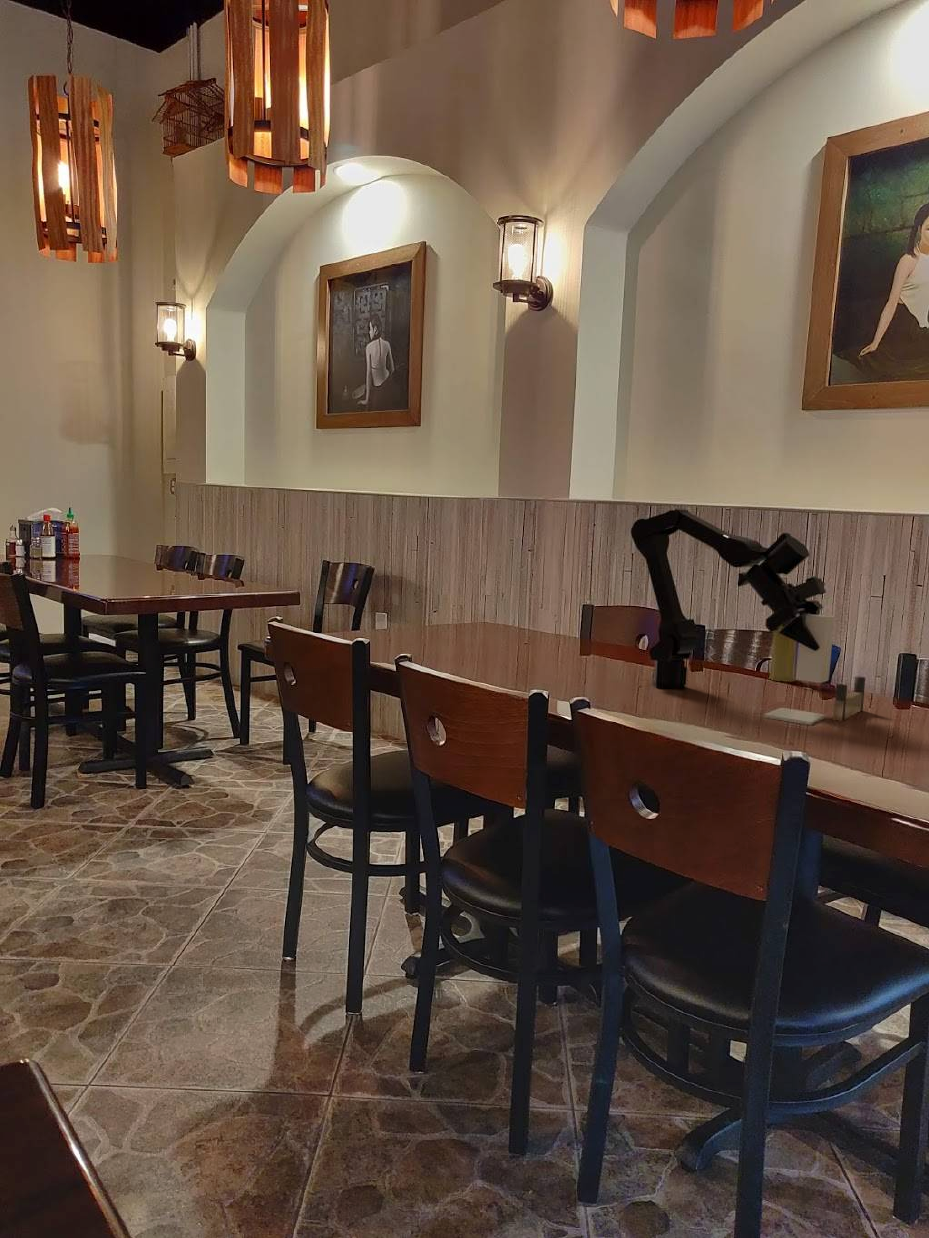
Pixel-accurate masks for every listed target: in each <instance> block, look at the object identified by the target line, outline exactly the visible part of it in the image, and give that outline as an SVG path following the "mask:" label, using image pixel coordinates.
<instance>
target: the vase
mask: <svg viewBox="0 0 929 1238" xmlns="http://www.w3.org/2000/svg"><path fill="white" fill-rule="evenodd" d="M782 625H783V624H782ZM782 625H781V626H779V627H778V631H776V632H774V633H773V638H772V639H773V641H772V651H771V661H770V662H771V663H770V672H769V677H768V679H769V680H770V679H771V681H774V680H775V682H780V681H783V682H782V683H792V682H795V681H796V657H797V656H796V655H797V654H796V653H797V641H795V640H793V639H790V638H788V637H786V636H784V635H782V634H779V632H780V631H781V630H782V629H783V627H782Z"/></svg>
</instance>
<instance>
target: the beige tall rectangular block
mask: <svg viewBox="0 0 929 1238" xmlns="http://www.w3.org/2000/svg"><path fill="white" fill-rule="evenodd" d="M805 624H806V626H807V628H808V629H809V631H810V632H811V634H812V635H813V637H814V639H815V640H816V642H817V644H818V645H819V647H820V648H819V649H818V650H817V651H814V650H812V649H810V648H808V647H806V646H804V645H803V644H801V643H799V642H798V647H797V656H796V657H797V661H796V667H795V680H798V681H805V682H812V683H817V684H822V683H825V682H828V681H829V679H830V669H831V668H830V667H831V659H832V656H831V655H832V648H833V637H834V628H835V627H834V626H835V616H830V615H828V616H827V615H821V614H819V615H811V614H809V615H806V621H805Z"/></svg>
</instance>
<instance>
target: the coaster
mask: <svg viewBox="0 0 929 1238" xmlns="http://www.w3.org/2000/svg"><path fill="white" fill-rule="evenodd" d="M825 717H826V718H827V715H826V714H824V713H817V712H811V711H804V710H800V709H794V708H793V709H792V708H786V707H779V708H777V709H775V710H772V711H769V712H767V713H765V714H764V718H766V719H772V720H778V721H783V722H788V723H790V722H791V723H796V724H800V725H801V724H802V725H806V726H812V725H814V724H816V723H818V722H820V721H822V720H824V719H826V718H825ZM815 722H816V723H815ZM813 723H814V724H813Z"/></svg>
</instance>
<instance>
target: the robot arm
mask: <svg viewBox="0 0 929 1238" xmlns="http://www.w3.org/2000/svg"><path fill="white" fill-rule="evenodd" d="M678 531H682V532H683V533H685V534H687V535H689V536H690V537H692V538H694V539H695V540H698V541H700V542H701V543H703V544H704V545H707V546H708V547H710V548H712V549H713V550H715V552H717V554H718V555H719V557H720V558H721V559H722V560H724V561H725V562H726V563H727V564H728V565H730V566H731V567H732V568H749V569H748V570H747V571H745V572H744V571H743V572H739V573H738V575H737V576H738V580H737V587H744V586H746V585H750V587H751V588H752V589H753V590H754V591H755V593H756V594H757V595H758V596H759V598H760V599H762V600H761V601H760V603H761V605H762V606H767V607H768V608H769V610H771V612H772V614H771V615H769V616H768V617H767V618H766V619H765V627H766V629H767V630H768V631H769V632H770V633H771V634H772V633H773V634H774V632H776V631H778V627H779V626H781V625H782V624H783V625H782V627H783V629H782V630H781V631H780V632H779V634H782V635H784V636H786V637H788V638H790V639H793V640H795V641H796V643H798V644H799V643H801V644H803V645H804V646H806V647H808V648H810V649H812V650H814V651H817V650H818V649H819V648H820V647H819V645H818V644H817V642H816V640H815V639H814V637H813V635H812V634H811V632H810V631H809V629H808V628H807V626H806V624H805V621H806V615H809V614H811V615H821V614H820V613H821V610H823V608H824V606H823V605H822V604H821V603H820V601H819V600H814V599H811V600H808V599H809V598H812V597H815V596H818V595H823V594H826V593H827V591H826V589H825V585H826V583H825V582H824V581H823V580H822V578H821V577H819V578H818V577H817V576H815V575H814V576H813V575H812V576H811V577H808V578H805V582H803V583H799V584H796V585H794V584H793V583H791V582H789V583H786V581H785V580H784V579H783V578H782V576H780V575H782V574H783V575H789V574H790V573H791V572H793V571H794V570H795V569H796V568H797V567H798V566H799V565H801V563H803V562H804V561H805V560H806V559H807V558H808V557H810V552H809V550H808V548H807V546H806V545H805V544H804V543H802V542H801V541H800V540H799V539H797V538H795V537H793V536H791V534H790V532H783V533H782V534H780V535H779V536H778V538H777V539H776V541H774V542H773V543H772V544H771V545H770V546H768V547H764V546H763V545H762V544H761V543H760V542H759V541H757V540H756V539H752V538H748V537H745V536H742V535H741V536H740V535H736V534H732V533H729V532H727V531H724V530H722V529H721V528H719V527H717V526H715V525H714V524H711V522H708V521H706V520H705V519H702V518H700V517H698V516H697V515H695V514H693V513H692V512H690V511H689V510H688V509H684V508H672V509H670V510H668V511H666V512H664V513H661V514H658V515H653V516H651V517H648V518H639V519H637V520H635V522H634V523H633V525H632V527H630V535H631V538H632V541H633V543H634V546H635V548H636V549H637V550H638V552H639V553H640V554H641V555H642V556H643V558H644V559H645V562H646V566H647V569H648V574H649V577H650V581H651V586H652V589H653V593H654V596H655V600H656V604H657V609H658V611H659V612H658V613H659V616H660V617H659V618H660V622H659V627H658V631H657V633H658V641H657V642H656V644H655V645H653V646H652V647H650V649H649V651H648V654H649V657H650V660H651V661H654V673H653V674H654V675H653V680H651V683H652V684H653V685H654V687H656V688H660V689H682V690H683V689H684V690H685V689H686V685H687V675H688V674H687V673H688V672H687V671H688V668H687V666H685V664H686V660H689V659H690V657H691V656H692V652H693V651H694V650H695V649H696V647H697V646H698V637H700V635H699V633H698V632H697V629H696V623H695V620H694V618H689V619H687V617H686V616H685V614H683V611H682V607H681V603H680V600H679V596H678V592H677V588H676V585H675V581H674V577H673V572H672V569H671V565H670V561H669V558H668V549H669V545H670V536H671V535H673V534H675V533H676V532H678Z"/></svg>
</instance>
